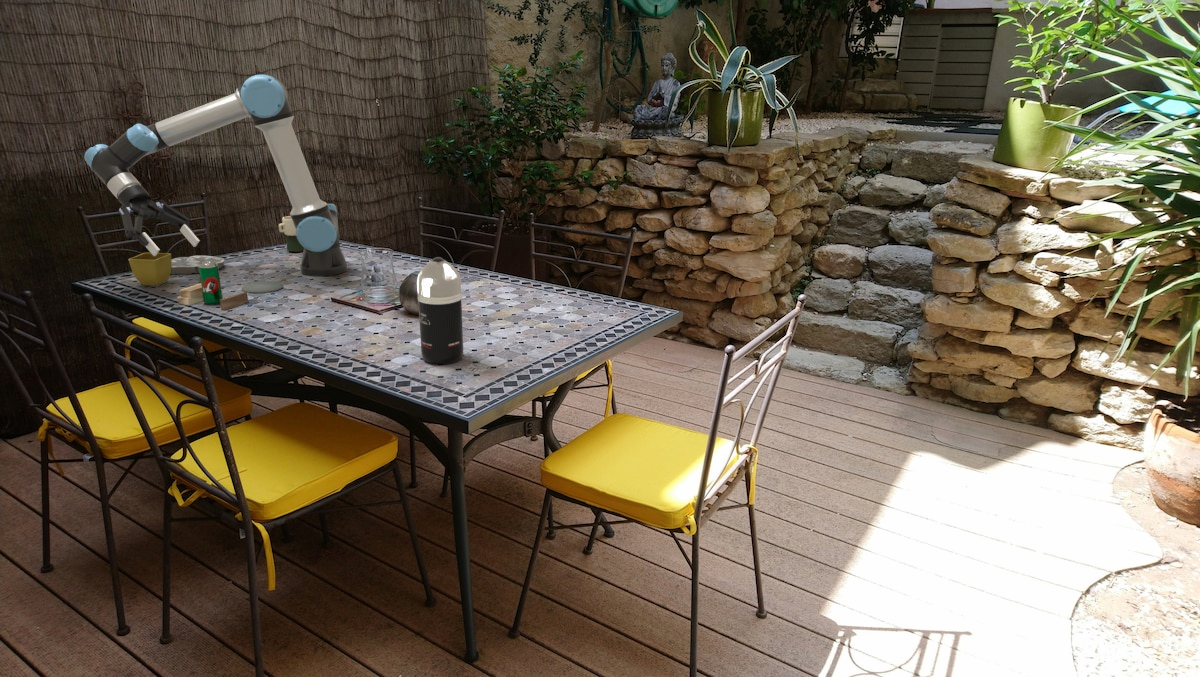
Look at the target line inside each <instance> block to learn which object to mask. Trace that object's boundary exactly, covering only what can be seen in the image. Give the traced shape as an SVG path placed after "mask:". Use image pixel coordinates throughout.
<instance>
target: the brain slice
mask: <svg viewBox="0 0 1200 677" xmlns="http://www.w3.org/2000/svg"><path fill="white" fill-rule="evenodd" d="M205 261H215V262H216V264H217V265H218V269H219V270H220V269H221V268H222V267H223V266H224V264H225V259H224V258H223V257H221V256H220V257H219V256H212V255H191V256H179V257H175V258H174V257H173V258H171V262H172V269H171V274H170V275H171V276H176V275H175V274H179V275H191V274H192V273H195V274H199V269H198V267H199V265H200V264H199V263H201V262H205ZM192 275H193V274H192Z"/></svg>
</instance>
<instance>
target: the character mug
mask: <svg viewBox="0 0 1200 677" xmlns="http://www.w3.org/2000/svg"><path fill="white" fill-rule="evenodd" d="M281 222H282V223H279V224H278V231H279V233H283V234H284V235H286V236H287V238H286V251H289V252H291V253H293V252H304V247H303V246H302V245H301V244H300V243H299V241H298V239H297V236H296V228H295V226H294V223H293V221H292V218H291V215H288V216H283V217H282V218H281Z"/></svg>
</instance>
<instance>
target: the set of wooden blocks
mask: <svg viewBox="0 0 1200 677" xmlns="http://www.w3.org/2000/svg"><path fill="white" fill-rule="evenodd" d="M179 294H180V295H179V296H177V302H178V305H183V306H192V305H195V304H198V303H201V302H204V300H203V294H202V287H201V282H200V283H196V284H194V285H191V286H188V287H185V288H182V289H179ZM246 302H247V303H249V297H248V293H247V292H243V291H242V292H240V293H237V294H234V295H231V296H228V297H223V299H221V300H220V303H219V304H220V308H221V309H220V311H227V310H230V309H233V308H235V307H238V305H239V306H241V304H242V305H244V304H246Z"/></svg>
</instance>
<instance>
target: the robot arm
mask: <svg viewBox="0 0 1200 677" xmlns="http://www.w3.org/2000/svg"><path fill="white" fill-rule="evenodd" d="M246 118H250V119H251V120H252V123H253V125H254V127H255V128H256V129H258V130H260V131H261V132H262V133H263V136H264V139H265V142H266V144H267V146H268V149H269V151H270V154H271V157H272V159H273V161H274V165H275V166H276V170H277V171H278V174H279V177H280V179H281V181H282V184H283V186H284V187H283V188H284V189H285V191H286V194H287V196H288V199H289V202H290V204H291V207H292V208H291V211H290V212H289V216H291V218H292V221H293V223H294V226H295V228H296V236H297V239H298V241H299V243H300V244H301V245H302V246H303V247H304V250H303V251H302V256H301V257H302V258H301V260H300V261H301V262H300V265H299V266H300V274H302V275H306V276H314V277H315V276H316V277H324V276H325V277H326V276H334V275H339V274H343V273H345V272H347V271H348V262H347V260H346V258H345V255H344V254H343V250H342V249H341V243H340V233H339V232H340V231H339V221H338V210H337V206H336V205H335V204H333V203H327V202H326V201H323V200H322V199H320V196H319V193H318V190H317V188H316V186H315V182H314V180H313V178H312V175H311V172H310V169H309V167H308V164H307V162H306V159H305V157H304V154H303V151H302V148H301V145H300V144H299V141H298V138H297V136H296V133H295V130H294V128H293V124H292V123H293V120H294V118H295V115H294V113H293V111H292V108H291V104H290V102H289V92H288V89H287V87H286V85H285V84H284V83H283V82H282V81H281V80H280V79H279V78H277V77H275V76H273V75H269V74H263V73H262V74H261V73H260V74H255V75H252V76H250V77H248V78H247V79H246V80H245V81H244V82H243V84H242V86H240V87H237V88H236V90H235V92H234V93H230V94H229V95H226V96H224V97H221V98H219V99H215V100H213V101H210V102H208V103H206V104H202V105H201V106H200V105H199V106H197V107H194V108H192V109H190V110H187V111H184V112H180V113H179V114H176V115H174V116H170V117H168V118H165V119H163V120H160V121H157V122H155V123H152V124H149V125H144V124H142V123H135V124H134V125H133V126H131V127H130V128H128V129H127V130H126V131H125V132H124V133H123V134H122V135H121V136H119V137H118V138H117V139H116V140H115V141H113V143H110V145H107V144H105V143H99V144H95V145H94V146H93V147H92V146H91V147H89V148H88V149H87V150H86V151H85V153H84V161H85V162H86V163H87V165H88V166H89V168H90V169H91V171H92V172H93V173H95V175H96V176H97V177H98V178H99V180H101V182H102V183H103V184H104V185H105V187H106V188H107V189H108V190H109V191H110V192H111V193H112V195H113V196H114V197H115V198H116V199H117V200H118V202H119V203H120V204H121V205H120V208H119V210H118V214H119V216H120V217H121V220H122V225H123V230H124V232H125V237H126V238H129V239H130V238H132V240H134V241H138V242H139V243H140V245H142V246H143V247H145V248H146V249H147V250H148V252H149V253H151V254H152V255H153V256H156V255H157V254H158V253H160V251H161V249H160V248H159V247H158V246H157V245H156V243H155V242H154V241H153V240H152V239H151V237H150V236H149V235H148V234H147V233H146V232H142V230H143V223H144V222H143V220H144V221H145V220H148V219H152V220H153V219H156V220H161V221H163V222H165V223H168V224H169V225H172V226H175V227H177V228H179V231H180V233H181V234H182V235H183V236H184V237H185V239H186V240H187V241H188V242H189V243H190V245H191V246H192V247H193V248H195V247H197V246H198V244H199V242H200V241H201V240H200V239H199V238H198V237H197V236H196V235H195V232H194V230H193V229H192V228H191V227H190V226H189V225H190V223H191V221H192V219H191V218H189V217H188V216H186V215H185V214H183V213H182V212H180V211H179V210H177V209H175V208H174V207H172V206H171V205H169V204H168V203H167V202H166V201H165V200H164V199H160V200H159V201H157V202H155V201H153V200H152V199H151V195H150V193H149V192H148V191H147V190H146V189H145V188H144V186H142V183H141V182H140V181H138V179H137V178H136V177H135V176H134V175H133V174H132V172H131V171H130V168H131V167H133V166H134V165H135V164H136V163H138V162H139V161H140V160H141V159H142V158H144V157H146V156H148V155H151V154H155V153H157V152H159V151H162V150H165V149H167V148H169V147H171V146H175V145H178V144H180V143H182V142H185V141H188V140H190V139H193V138H196V137H198V136H202V135H203V134H207V133H209V132H212V131H215V130H217V129H219V128H223V127H225V126H227V125H230V124H232V123H235V122H238V121H240V120H243V119H246ZM158 212H159V213H158ZM131 214H132V215H133V216H135V217H134V224H133V220H132V217H131Z"/></svg>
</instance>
